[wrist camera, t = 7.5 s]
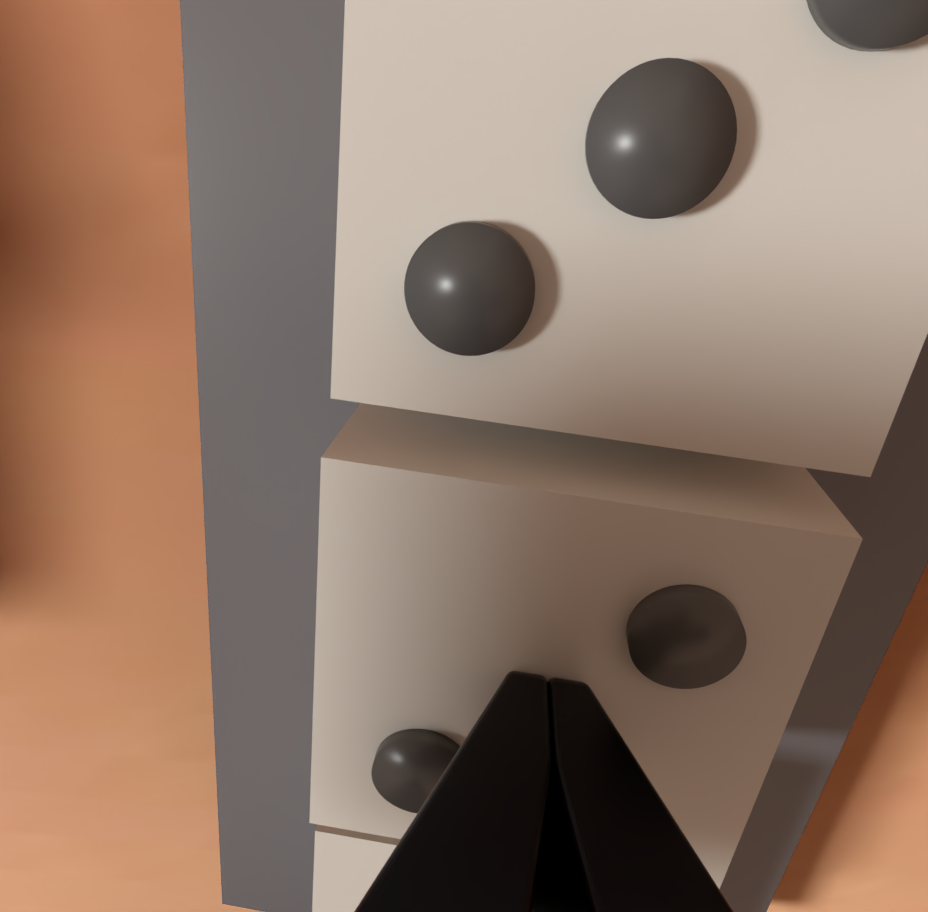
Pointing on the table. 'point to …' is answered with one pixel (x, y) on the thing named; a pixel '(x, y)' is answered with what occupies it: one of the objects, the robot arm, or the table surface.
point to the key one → (346, 866)
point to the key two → (561, 607)
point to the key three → (637, 219)
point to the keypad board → (321, 418)
